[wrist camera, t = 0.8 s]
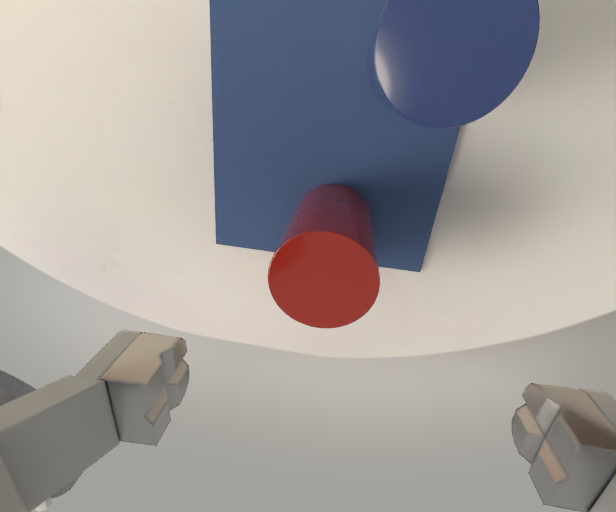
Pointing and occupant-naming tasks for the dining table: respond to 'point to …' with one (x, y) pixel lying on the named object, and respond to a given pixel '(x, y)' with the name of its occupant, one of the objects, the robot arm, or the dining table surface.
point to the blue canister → (450, 57)
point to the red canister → (326, 259)
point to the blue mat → (314, 126)
